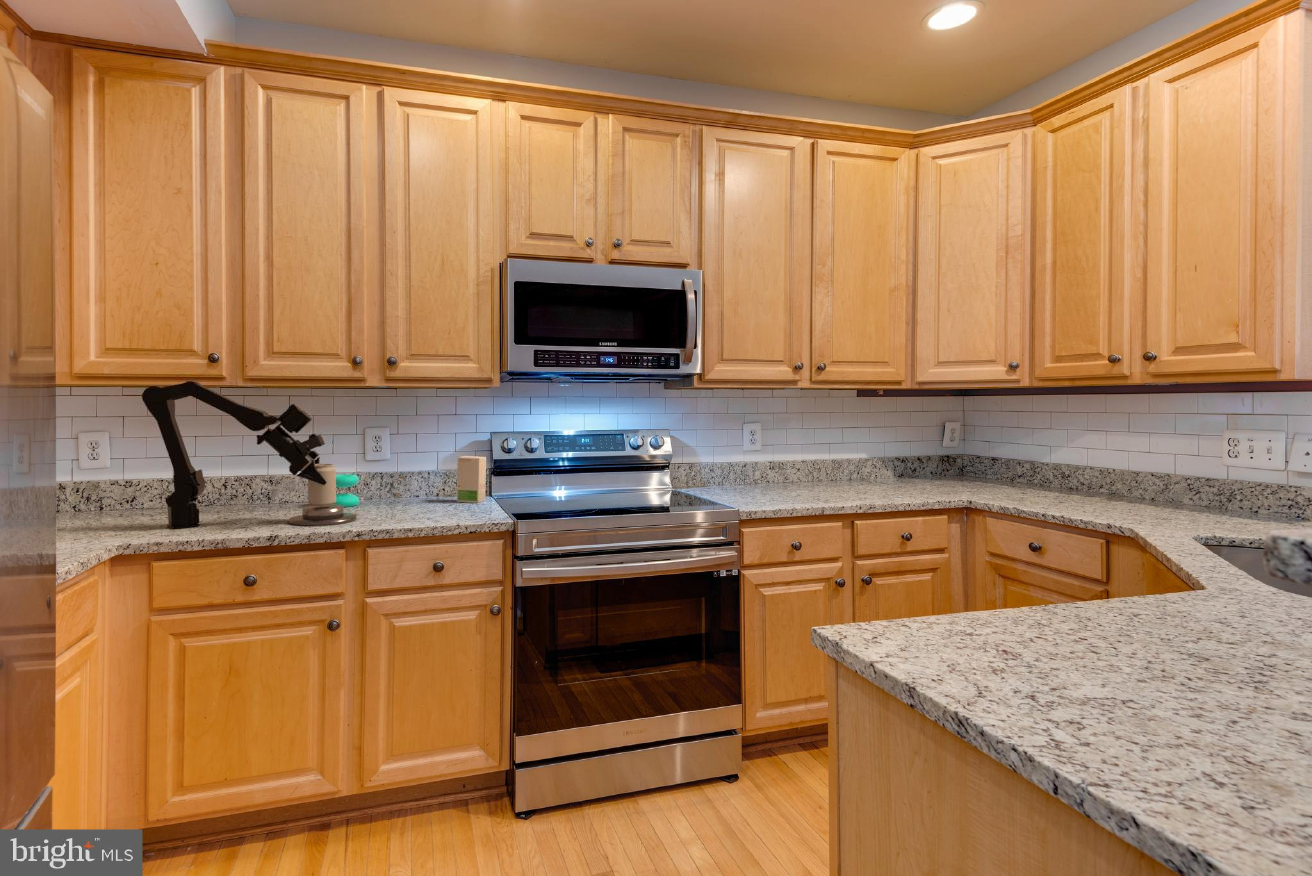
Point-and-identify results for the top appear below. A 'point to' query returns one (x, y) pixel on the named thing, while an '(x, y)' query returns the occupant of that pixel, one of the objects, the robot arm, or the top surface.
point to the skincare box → (471, 479)
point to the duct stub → (322, 516)
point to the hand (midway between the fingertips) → (327, 482)
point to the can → (323, 487)
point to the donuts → (346, 481)
